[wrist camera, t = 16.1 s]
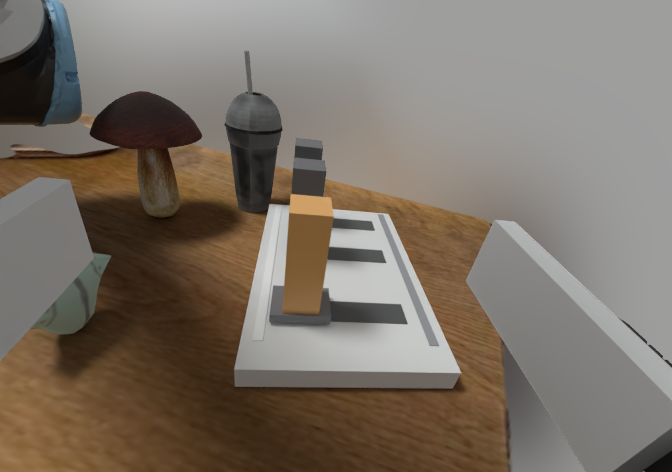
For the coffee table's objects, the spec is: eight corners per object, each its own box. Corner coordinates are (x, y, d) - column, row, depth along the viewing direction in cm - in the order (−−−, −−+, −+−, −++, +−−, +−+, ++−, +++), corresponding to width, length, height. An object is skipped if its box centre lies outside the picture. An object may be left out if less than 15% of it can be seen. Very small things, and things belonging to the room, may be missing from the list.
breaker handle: (269, 322, 26) (273, 213, 21) (272, 292, 29) (277, 191, 24) (330, 324, 27) (348, 219, 22) (327, 294, 30) (343, 197, 25)
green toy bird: (55, 376, 22) (19, 304, 19) (-1, 365, 23) (-48, 292, 19) (130, 298, 29) (114, 236, 26) (86, 291, 29) (64, 227, 26)
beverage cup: (288, 206, 49) (298, 57, 39) (253, 222, 43) (253, 54, 33) (254, 190, 52) (255, 48, 42) (217, 204, 46) (207, 44, 36)
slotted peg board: (234, 386, 24) (228, 250, 17) (269, 216, 45) (271, 129, 39) (452, 388, 26) (516, 269, 20) (385, 225, 48) (405, 145, 42)
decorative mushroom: (223, 221, 43) (217, 101, 35) (132, 248, 35) (99, 104, 28) (184, 191, 49) (171, 82, 41) (99, 209, 41) (63, 81, 33)
